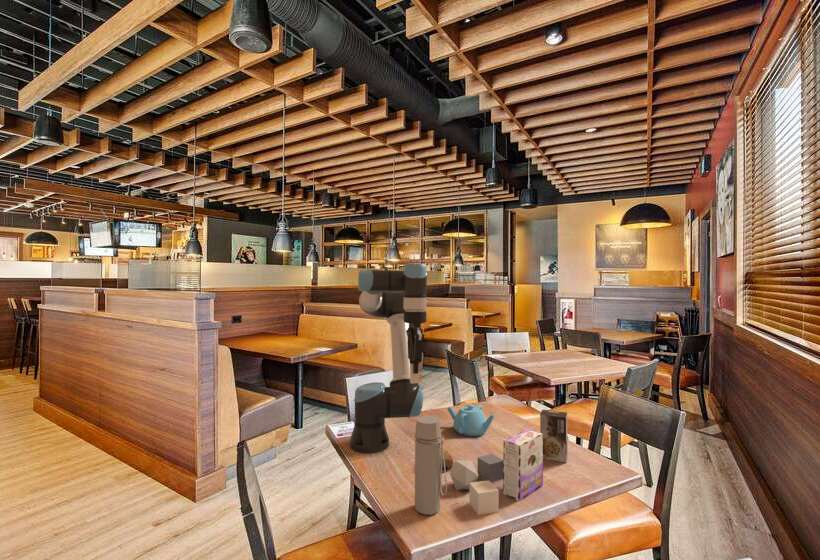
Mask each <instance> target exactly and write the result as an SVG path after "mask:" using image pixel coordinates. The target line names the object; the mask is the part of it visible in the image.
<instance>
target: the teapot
mask: <svg viewBox="0 0 820 560" xmlns="http://www.w3.org/2000/svg"><path fill="white" fill-rule="evenodd" d="M447 412H448V413H449V414H450V416H451V418H452V419H453V423H452V424H453V425H452V426H453V429H454V431H456V433H457V434H459V435H461V436H466V437H481V436H482V435H484V434H485V433H486V432H487V431H488V429H489V428H490V426H491V424H492V422H493V420H494V418H495V416H496V415H495V414H489V416H488V418H486V416H485V414H484V412H483V406H482V405H481V404H478V405H476V406H475V405H474V404H471V403H469V404H467V406H463V407H461V408H460V409H459V410H458V411H457V413H456V411H455V410H454V408H453V406H450V407H448V408H447ZM480 435H481V436H480Z"/></svg>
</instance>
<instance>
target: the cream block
mask: <svg viewBox="0 0 820 560" xmlns="http://www.w3.org/2000/svg"><path fill="white" fill-rule="evenodd" d="M499 492H500V490H499V489H498V488H497V487H496V486H495V485H494V484H493V483H491V482H490V481H489V480H488V481H485V480H482V481H476V482H473V483H470V490H469V505H470V506H471V507H472V509H473V510H474V512H476V514H477V515H478V516H482V515H481V514H483V515H488V514H487V513H489V514H494V512H495V513H499Z"/></svg>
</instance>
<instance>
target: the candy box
mask: <svg viewBox="0 0 820 560" xmlns="http://www.w3.org/2000/svg"><path fill="white" fill-rule="evenodd" d="M502 457H503V459H502V460H503V479H502V484H503V485H502V494H503V495H505V496H507V497H509V498H511V499H513V500H515V501H517V502H520V501H522V500H523V499H525V498H526V497H528V496H529V495H531V494H532V493H533V492H535V491H537V490H538V489H539V488H541V487H542V486H543V485H544V459H543V434H542V433H540V431H539V432H538V431H534V430H532V429H529V428H528V429H524V430H523V431H520V432H519V433H517V434H514V435H512V436H510V437H509V438H506V439H503V456H502Z"/></svg>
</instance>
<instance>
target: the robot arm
mask: <svg viewBox="0 0 820 560" xmlns="http://www.w3.org/2000/svg"><path fill="white" fill-rule="evenodd" d="M427 270H428V269H427V265H426V264H425V263H419V262H418V263H417V262H415V263H414V262H412V263H411V262H408V263H405V264H404V266H403V269H369V268H367V269H361V270H359V271H358V275H357V278H358V280H357V282H358V283H357V284H358V291H360V292H361V293H360V295H359V297H358V304H359V307H360V308H361V310H362V312H364V313H365V314H367V315H369V316H371V317H374V318H379V319H380V318H383V319H384V318H386V322H387V324H389V325H390V336H391V337H390V341H391V342H390V343H391V360H392V361H391V362H392V379H391V380H390V382H389V386H386V385H385V383H384V382H375V381H374V382H369V383H365V384H362V385H359V386H358V387H357V388H355V391H354V399H353V401H354V423H353V424H354V425H353V429H352V433H351V434H350V435H351V436H350V437H349V438H350V439H349V448H350V449H351V450H352V451H353V452H356V453H360V454H361V453H362V454H374V453H380V452H383V451H385V450H387V448H389V446H390V437H389V434H388V430H387V428H386V425H385V423H386V420H385V419H394V418H395V419H396V418H397V419H398V418H418V417H420V415H421V413H422V410H423V405H424V404H423V403H424V386H422V385H419V383H420V364H421V363H422V360H423V347H424V339H425V334H424V333H423V328H422V324H425V323H427V315H428V313H427V311H425V310H427V304H428V303H429V300H427V292H428V291H427V288H428V287H427V285H428V284H427V283H428V281H427V280H428V278H427V276H428V271H427Z"/></svg>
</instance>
